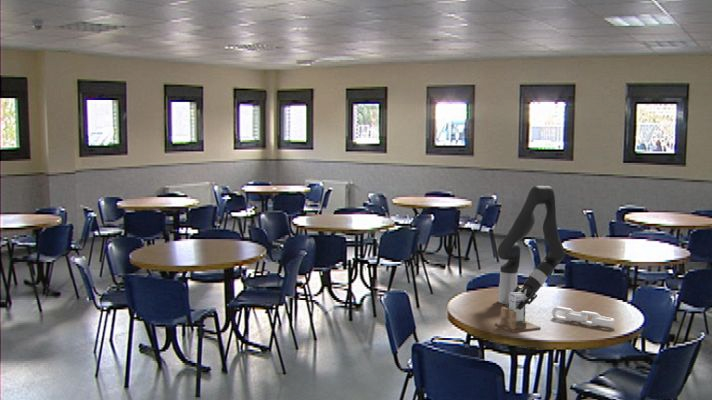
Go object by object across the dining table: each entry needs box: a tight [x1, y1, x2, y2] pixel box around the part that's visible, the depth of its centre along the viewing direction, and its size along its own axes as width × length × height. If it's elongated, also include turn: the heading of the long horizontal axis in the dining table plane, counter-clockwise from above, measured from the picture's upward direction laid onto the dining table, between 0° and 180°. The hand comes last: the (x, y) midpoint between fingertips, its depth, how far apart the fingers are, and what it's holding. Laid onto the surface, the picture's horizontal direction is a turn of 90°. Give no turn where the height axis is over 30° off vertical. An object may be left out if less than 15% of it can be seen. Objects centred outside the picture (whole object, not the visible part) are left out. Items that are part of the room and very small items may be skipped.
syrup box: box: [508, 292, 526, 323], centre depth 331 cm, size 6×6×14 cm
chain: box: [551, 306, 616, 327], centre depth 341 cm, size 30×6×6 cm, turn 56°
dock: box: [494, 306, 541, 334], centre depth 332 cm, size 14×16×9 cm
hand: (514, 306), depth 330 cm, fingers closed on syrup box, 6 cm apart
